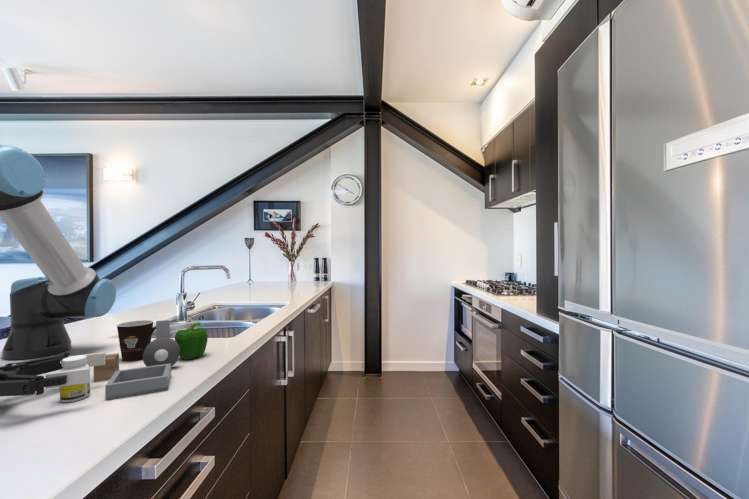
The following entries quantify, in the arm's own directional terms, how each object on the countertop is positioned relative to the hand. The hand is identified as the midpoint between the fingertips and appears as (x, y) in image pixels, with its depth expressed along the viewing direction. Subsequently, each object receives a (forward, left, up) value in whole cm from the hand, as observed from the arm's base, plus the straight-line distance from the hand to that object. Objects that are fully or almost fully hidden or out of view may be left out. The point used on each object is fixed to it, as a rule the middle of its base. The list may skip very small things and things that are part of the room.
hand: (97, 366), depth 74 cm
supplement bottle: (0, -4, -6) cm, 7 cm away
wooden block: (-12, -1, -6) cm, 13 cm away
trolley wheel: (-13, +11, -6) cm, 18 cm away
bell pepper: (-20, +17, -6) cm, 27 cm away
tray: (-1, +8, -6) cm, 10 cm away
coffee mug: (-26, +4, -6) cm, 27 cm away
